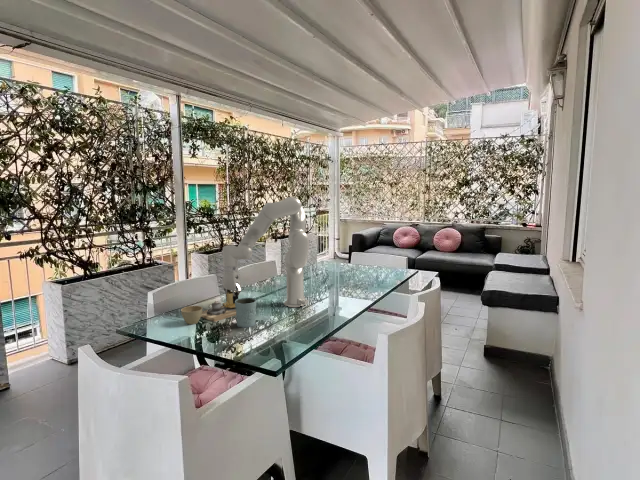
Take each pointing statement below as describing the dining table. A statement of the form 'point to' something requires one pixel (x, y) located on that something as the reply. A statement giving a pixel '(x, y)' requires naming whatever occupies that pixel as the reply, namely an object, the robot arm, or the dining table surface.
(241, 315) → the grey cup
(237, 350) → the dining table surface
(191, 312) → the flower pot
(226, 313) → the gear board
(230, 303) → the brass gear
